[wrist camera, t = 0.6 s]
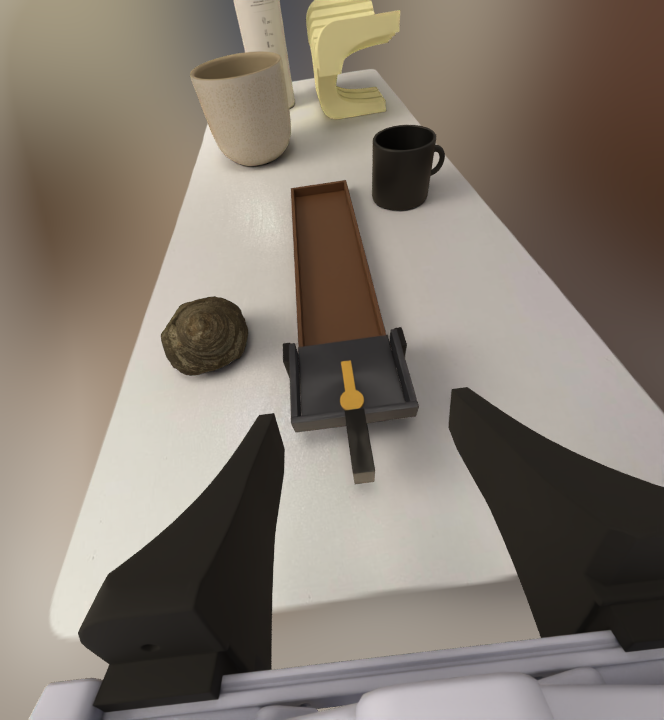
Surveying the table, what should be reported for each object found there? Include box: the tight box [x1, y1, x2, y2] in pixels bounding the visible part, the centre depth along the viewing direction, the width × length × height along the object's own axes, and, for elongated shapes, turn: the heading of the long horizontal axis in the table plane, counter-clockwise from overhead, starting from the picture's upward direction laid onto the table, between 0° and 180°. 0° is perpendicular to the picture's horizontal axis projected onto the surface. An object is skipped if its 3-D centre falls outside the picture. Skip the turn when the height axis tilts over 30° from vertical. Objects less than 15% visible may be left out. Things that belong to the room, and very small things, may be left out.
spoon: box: [340, 360, 364, 410], centre depth 30 cm, size 6×2×1 cm, turn 6°
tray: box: [291, 180, 386, 347], centre depth 46 cm, size 39×10×2 cm, turn 6°
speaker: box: [234, 0, 295, 109], centre depth 76 cm, size 11×10×26 cm
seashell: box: [161, 296, 248, 375], centre depth 35 cm, size 11×12×10 cm
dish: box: [289, 329, 419, 484], centre depth 28 cm, size 15×11×4 cm
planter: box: [190, 51, 291, 166], centre depth 64 cm, size 17×17×15 cm
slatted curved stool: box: [306, 0, 400, 119], centre depth 74 cm, size 30×16×18 cm, turn 7°
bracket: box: [283, 327, 407, 378], centre depth 34 cm, size 2×13×4 cm, turn 96°
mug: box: [372, 125, 445, 210], centre depth 51 cm, size 9×12×9 cm
